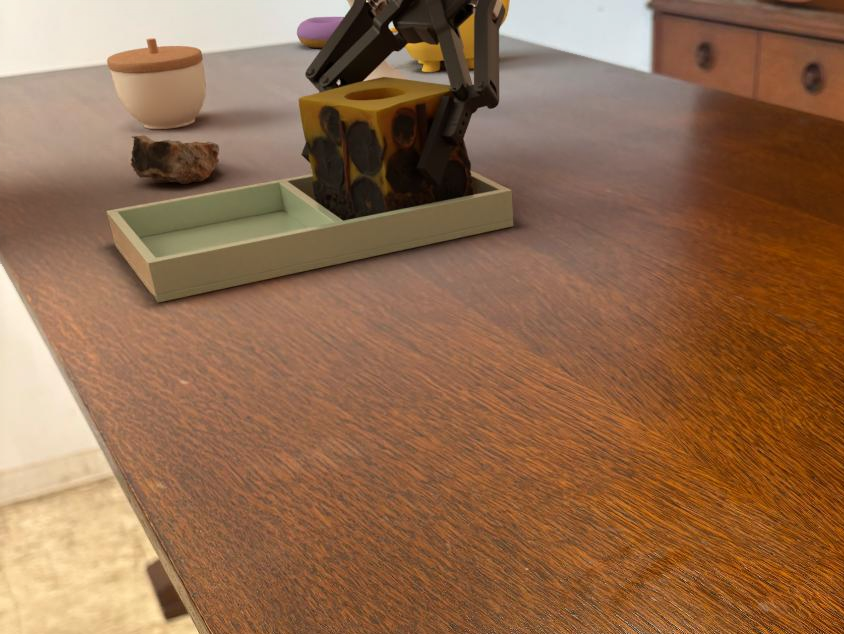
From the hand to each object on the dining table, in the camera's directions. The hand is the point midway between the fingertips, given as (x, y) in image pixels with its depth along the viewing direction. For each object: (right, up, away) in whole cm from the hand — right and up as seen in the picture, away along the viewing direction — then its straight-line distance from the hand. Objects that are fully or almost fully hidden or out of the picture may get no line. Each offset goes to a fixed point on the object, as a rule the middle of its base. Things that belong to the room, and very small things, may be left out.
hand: (369, 170), depth 91 cm
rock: (-23, +6, +20) cm, 31 cm away
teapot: (+3, +37, +65) cm, 75 cm away
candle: (+2, -2, +4) cm, 5 cm away
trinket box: (-30, +19, +40) cm, 54 cm away
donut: (-19, +48, +82) cm, 97 cm away
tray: (-5, -5, +2) cm, 7 cm away
